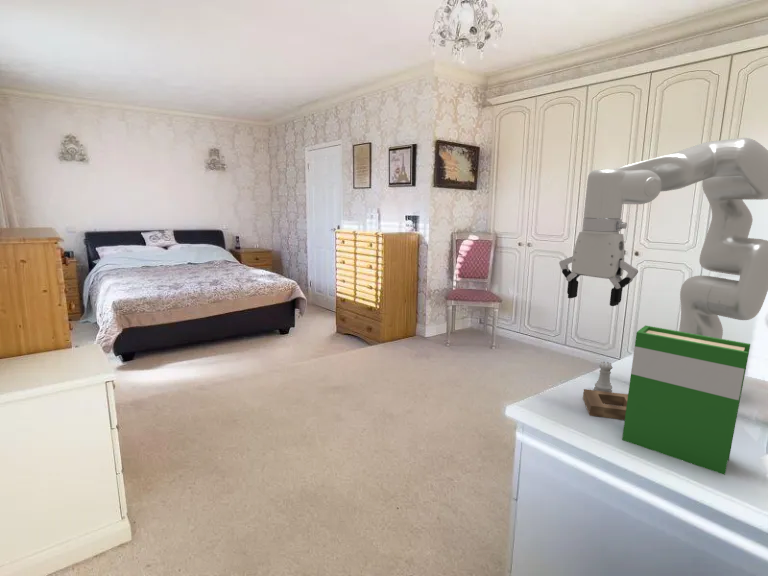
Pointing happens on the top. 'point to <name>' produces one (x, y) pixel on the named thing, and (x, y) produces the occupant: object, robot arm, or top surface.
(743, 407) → the top surface
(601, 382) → the rook chess piece
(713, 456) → the hardback book
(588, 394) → the socket board
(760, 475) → the top surface
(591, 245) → the robot arm
